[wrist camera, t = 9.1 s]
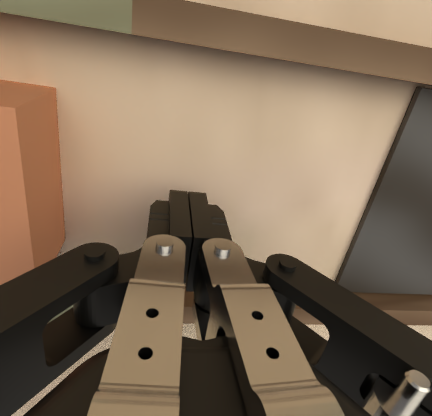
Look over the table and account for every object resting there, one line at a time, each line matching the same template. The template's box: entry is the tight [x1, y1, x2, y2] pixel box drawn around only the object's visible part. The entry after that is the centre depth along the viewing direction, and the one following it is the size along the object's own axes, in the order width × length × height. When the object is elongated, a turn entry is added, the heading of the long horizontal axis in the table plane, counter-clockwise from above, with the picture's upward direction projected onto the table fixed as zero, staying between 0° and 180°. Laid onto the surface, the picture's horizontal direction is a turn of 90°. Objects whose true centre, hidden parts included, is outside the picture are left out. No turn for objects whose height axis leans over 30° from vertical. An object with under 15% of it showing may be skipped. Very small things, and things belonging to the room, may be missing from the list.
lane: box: [0, 0, 432, 325], centre depth 14 cm, size 14×49×4 cm, turn 81°
